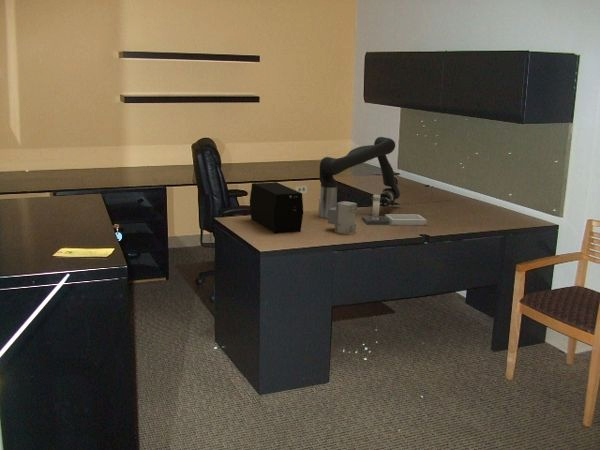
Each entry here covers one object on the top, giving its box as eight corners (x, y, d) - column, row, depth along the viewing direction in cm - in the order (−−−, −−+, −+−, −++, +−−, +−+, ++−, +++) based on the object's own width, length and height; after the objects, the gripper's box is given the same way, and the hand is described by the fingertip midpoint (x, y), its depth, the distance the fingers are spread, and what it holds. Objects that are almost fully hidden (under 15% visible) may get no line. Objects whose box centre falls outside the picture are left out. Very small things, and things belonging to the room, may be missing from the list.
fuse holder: (367, 224, 357) (367, 221, 356) (361, 219, 368) (361, 215, 368) (388, 224, 359) (388, 221, 358) (382, 219, 370) (382, 216, 370)
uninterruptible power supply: (276, 217, 365) (278, 181, 360) (304, 232, 336) (305, 193, 331) (249, 219, 358) (250, 183, 353) (274, 234, 328) (275, 195, 324)
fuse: (372, 222, 361) (374, 195, 358) (370, 221, 365) (372, 194, 362) (379, 222, 362) (381, 196, 359) (377, 221, 366) (379, 194, 362)
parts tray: (391, 225, 357) (392, 220, 357) (384, 219, 370) (385, 214, 370) (426, 225, 361) (426, 220, 360) (418, 219, 374) (418, 214, 373)
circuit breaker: (332, 227, 348) (333, 199, 345) (355, 231, 341) (357, 203, 337) (324, 229, 342) (325, 201, 339) (348, 234, 335) (350, 205, 331)
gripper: (374, 190, 387) (367, 195, 372) (398, 193, 383) (392, 198, 368) (373, 203, 389) (367, 208, 374) (397, 205, 385) (391, 211, 370)
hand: (379, 203), depth 371 cm, fingers open, 8 cm apart
